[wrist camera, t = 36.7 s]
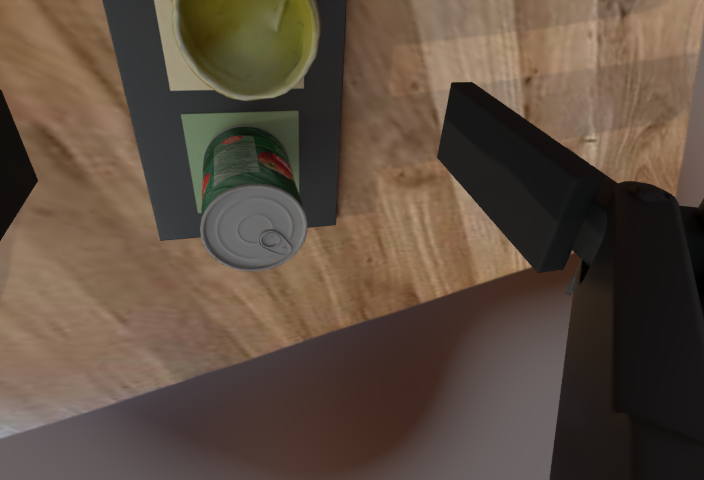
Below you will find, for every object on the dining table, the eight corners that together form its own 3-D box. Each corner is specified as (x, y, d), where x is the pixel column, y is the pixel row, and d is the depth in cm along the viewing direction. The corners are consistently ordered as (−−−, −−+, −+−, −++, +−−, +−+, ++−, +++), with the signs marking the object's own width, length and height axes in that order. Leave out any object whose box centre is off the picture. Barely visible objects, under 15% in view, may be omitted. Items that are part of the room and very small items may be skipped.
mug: (360, -2, 34) (342, 43, 27) (279, 86, 40) (245, 143, 32) (229, -152, 29) (162, -148, 22) (157, -27, 35) (84, 10, 27)
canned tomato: (183, 167, 41) (176, 238, 32) (241, 105, 39) (249, 164, 30) (251, 214, 45) (260, 286, 37) (305, 161, 43) (328, 225, 35)
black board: (161, 234, 46) (160, 241, 45) (68, -157, 28) (63, -159, 27) (333, 219, 50) (336, 225, 49) (349, -130, 32) (353, -130, 31)
